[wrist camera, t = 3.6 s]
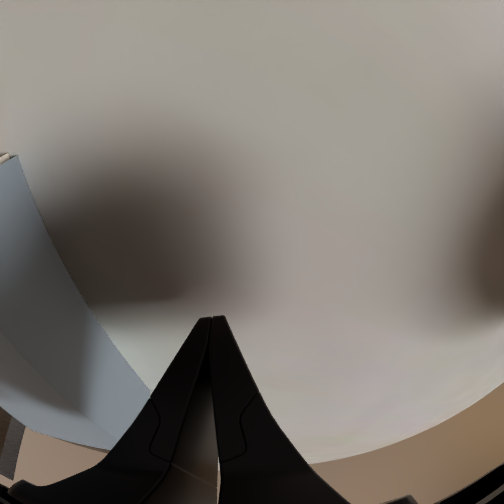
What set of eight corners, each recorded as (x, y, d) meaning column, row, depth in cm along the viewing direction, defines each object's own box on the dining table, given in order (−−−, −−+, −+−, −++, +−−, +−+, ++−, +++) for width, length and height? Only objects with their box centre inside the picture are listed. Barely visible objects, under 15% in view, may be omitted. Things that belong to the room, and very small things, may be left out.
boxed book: (151, 386, 15) (141, 454, 11) (47, 379, 15) (31, 430, 11) (20, 146, 7) (-70, 205, 3) (-66, 208, 7) (-115, 256, 3)
